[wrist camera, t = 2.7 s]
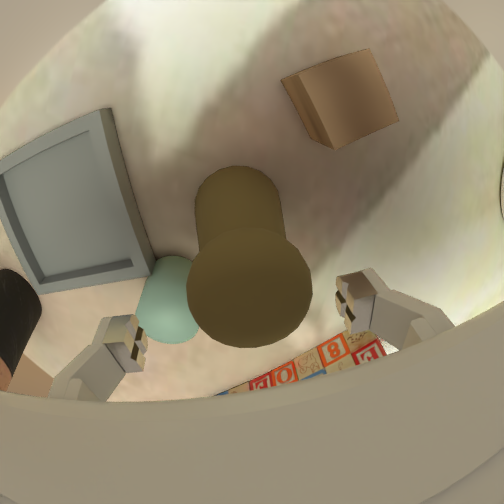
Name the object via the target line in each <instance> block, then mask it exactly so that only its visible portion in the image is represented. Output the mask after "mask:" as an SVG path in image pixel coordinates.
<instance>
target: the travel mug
mask: <svg viewBox="0 0 504 504" xmlns="http://www.w3.org/2000/svg"><path fill="white" fill-rule="evenodd" d="M40 316H41V304H40V301H39V299H38V297H37V295H36V293H35V291H34V290H33V288H32V287H31V286H30V285H29V283H28V282H27V281H26V280H25V279H24V278H22V277H21V276H20V275H18V274H17V273H15V272H13V271H11V270H7V269H3V270H0V390H2V391H7V388H8V386H9V384H10V381H11V379H12V377H13V374H14V372H15V369H16V367H17V365H18V362H19V360H20V358H21V355H22V353H23V351H24V349H25V347H26V345H27V343H28V340H29V338H30V336H31V334H32V332H33V330H34V328H35V326H36V324H37V322H38V320H39V318H40Z"/></svg>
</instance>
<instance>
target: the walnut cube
mask: <svg viewBox="0 0 504 504" xmlns="http://www.w3.org/2000/svg"><path fill="white" fill-rule="evenodd" d="M281 82H282V84H283V86H284V87H285V89H286V91H287V93H288V95H289V97H290V98H291V100H292V102H293V104H294V106H295V108H296V110H297V112H298V114H299V116H300V118H301V119H302V121H303V123H304V125H305V127H306V129H307V131H308V134H309V136H310V138H311V139H313V140H315V141H317V142H319V143H321V144H323V145H325V146H327V147H329V148H331V149H333V150H337V149H339V148H341V147H343V146H345V145H347V144H349V143H352V142H354V141H356V140H358V139H360V138H362V137H364V136H367V135H369V134H371V133H373V132H375V131H377V130H380V129H382V128H384V127H386V126H389V125H391V124H393V123H395V122H398V121H399V119H398V116H397V113H396V110H395V108H394V105H393V102H392V100H391V97H390V94H389V92H388V89H387V87H386V84H385V82H384V80H383V77H382V75H381V73H380V70H379V68H378V66H377V64H376V62H375V59H374V57H373V55H372V53H371V51H370V49H365V50H361V51H357V52H354V53H350V54H346V55H343V56H340V57H337V58H334V59H331V60H328V61H326V62H323V63H320V64H318V65H315V66H313V67H310V68H308V69H305V70H303V71H300V72H298V73H295V74H293V75H291V76H289V77H286V78H284V79H282V80H281Z"/></svg>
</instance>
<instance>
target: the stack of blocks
mask: <svg viewBox="0 0 504 504" xmlns="http://www.w3.org/2000/svg"><path fill="white" fill-rule="evenodd" d="M386 355H387V354H386V352H385V350H384V349H383V347H382V345H381V343H380V341H379V340H378V338H377V336H376V334H374V333H373V332H371V331H370V330H366V331H362V332H359V333H355V334H351V335H350V333H349V331H348V330H346V331H344V332H343V333H340V334H338V335H337V336H335V337H333V338H331V339H330V340H328V341H326V342H324V343H322V344H321V345H319V346H317V347H315V348H313V349H311V350H309V351H308V352H306V353H304V354H302V355H300V356H298V357H296V358H294V359H293V360H292V361H290V362H288V363H286V364H284V365H282V366H280V367H278V368H276V369H274V370H272V371H271V372H268V373H266V374H264V375H262V376H260V377H258V378H256V379H253V380H251V381H250V382H246V383H244V384H242V385H239V386H237V387H235V388H232V389H230V390H228V391H225V392H223V393H220V394H218V395H226V394H233V393H239V392H246V391H252V390H257V389H263V388H268V387H273V386H278V385H283V384H288V383H292V382H297V381H301V380H305V379H309V378H313V377H317V376H321V375H325V374H328V373H332V372H336V371H339V370H343V369H346V368H349V367H353V366H356V365H359V364H362V363H365V362H368V361H371V360H374V359H377V358H380V357H383V356H386ZM218 395H216V396H218Z"/></svg>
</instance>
